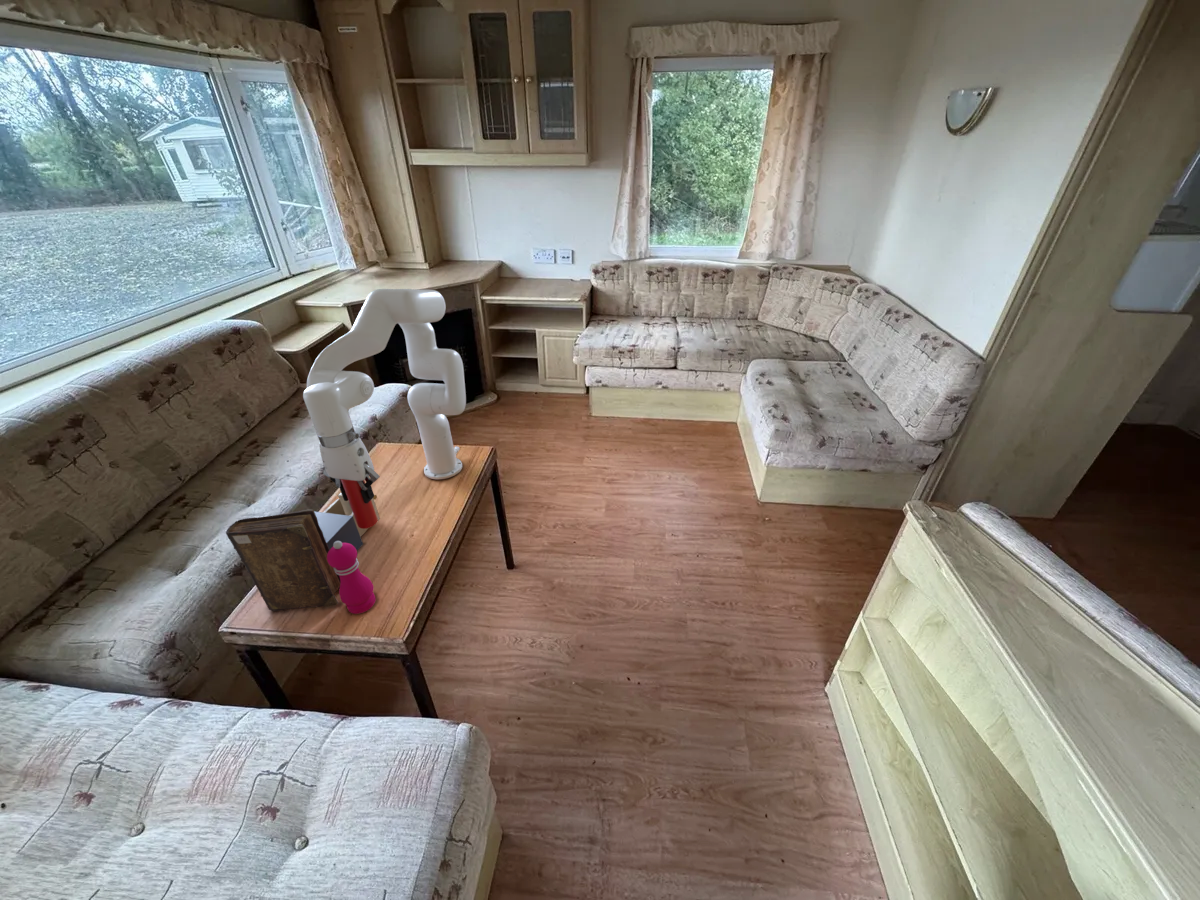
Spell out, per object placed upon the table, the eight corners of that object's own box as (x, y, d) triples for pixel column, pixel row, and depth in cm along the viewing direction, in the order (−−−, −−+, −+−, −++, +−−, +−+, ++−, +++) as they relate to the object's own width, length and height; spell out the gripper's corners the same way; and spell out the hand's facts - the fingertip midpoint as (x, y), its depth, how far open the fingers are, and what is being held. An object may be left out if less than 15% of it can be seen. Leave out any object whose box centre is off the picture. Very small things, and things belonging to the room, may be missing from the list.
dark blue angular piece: (326, 539, 135) (314, 511, 130) (363, 544, 133) (352, 516, 128) (288, 577, 123) (273, 548, 118) (328, 583, 121) (315, 554, 116)
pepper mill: (366, 618, 112) (340, 555, 101) (338, 613, 113) (310, 551, 103) (384, 594, 118) (361, 533, 107) (357, 590, 119) (333, 529, 109)
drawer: (357, 506, 146) (349, 484, 142) (387, 510, 144) (380, 488, 140) (318, 546, 131) (307, 523, 127) (352, 550, 130) (342, 527, 125)
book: (265, 612, 114) (219, 533, 100) (280, 589, 120) (239, 511, 106) (337, 608, 114) (300, 529, 101) (348, 585, 120) (315, 508, 107)
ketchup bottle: (365, 515, 126) (344, 457, 116) (381, 517, 125) (362, 459, 116) (353, 527, 122) (331, 468, 112) (370, 529, 121) (349, 470, 112)
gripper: (380, 431, 112) (398, 493, 121) (315, 425, 115) (339, 486, 124) (360, 447, 105) (381, 512, 115) (293, 441, 108) (319, 504, 118)
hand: (359, 498), depth 120 cm, fingers closed on ketchup bottle, 4 cm apart
